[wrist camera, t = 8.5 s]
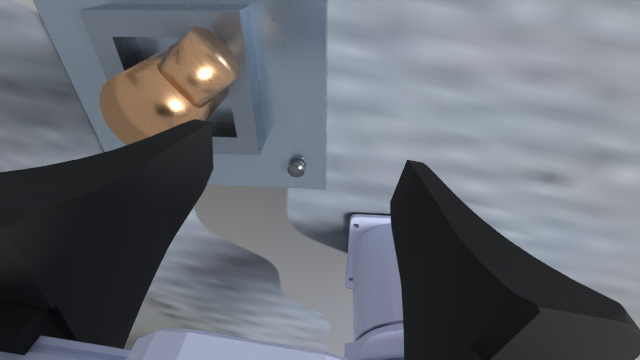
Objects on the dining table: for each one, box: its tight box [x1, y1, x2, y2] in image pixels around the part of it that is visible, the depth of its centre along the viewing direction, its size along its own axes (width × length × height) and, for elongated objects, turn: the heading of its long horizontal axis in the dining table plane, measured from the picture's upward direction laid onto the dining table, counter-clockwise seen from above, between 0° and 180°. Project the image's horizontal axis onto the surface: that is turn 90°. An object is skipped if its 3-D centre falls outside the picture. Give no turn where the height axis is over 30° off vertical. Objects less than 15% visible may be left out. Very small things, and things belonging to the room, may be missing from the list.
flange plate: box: [33, 0, 327, 189], centre depth 19 cm, size 16×16×3 cm
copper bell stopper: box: [99, 26, 240, 145], centre depth 16 cm, size 6×4×6 cm, turn 128°
